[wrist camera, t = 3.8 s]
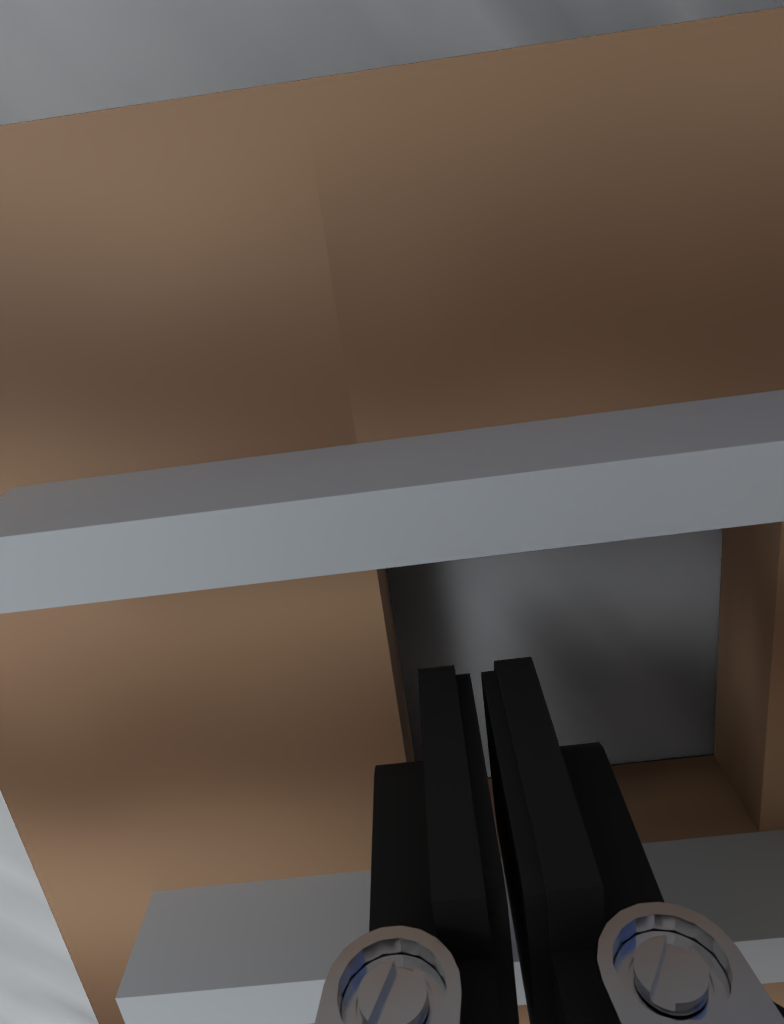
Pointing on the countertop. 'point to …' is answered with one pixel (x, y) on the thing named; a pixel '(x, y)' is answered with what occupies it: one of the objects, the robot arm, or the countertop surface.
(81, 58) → the countertop surface
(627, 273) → the deck
